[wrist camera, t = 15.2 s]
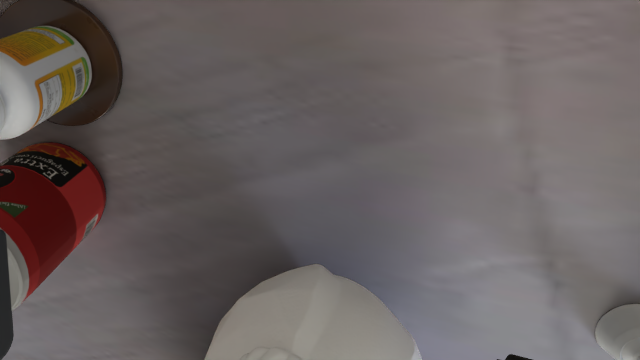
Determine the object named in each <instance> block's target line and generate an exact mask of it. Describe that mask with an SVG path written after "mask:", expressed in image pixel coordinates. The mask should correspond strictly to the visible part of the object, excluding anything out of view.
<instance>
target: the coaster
mask: <svg viewBox="0 0 640 360" xmlns="http://www.w3.org/2000/svg"><path fill="white" fill-rule="evenodd" d="M37 26H52V27H56V28H59V29H61V30H63V31H65V32H67V33H69V34H70V35H71V36H73V37H74V38H75V39H76V40H77V41H78V42H79V43H80V44H81V45H82V47H83V48H84V50H85V51H86V53H87V55H88V57H89V60H90V63H91V69H92V79H91V83H90V86H89V88H88V90H87V92H86V93H85V94H84V95H83V96H82V97H81V98H80V99H79V100H77V101H76V102H74V103H72V104H71V105H69V106H67V107H66V108H64V109H63V110H61V111H59V112H58V113H56V114H54V115H53V116H51V117H50V118H48V119H46V120H47V121H49V122H53V123H56V124H60V125H67V126H77V125H84V124H88V123H90V122H93V121H95V120H97V119H98V118H100V117H102V116H103V115H104V114H105V113H107V112H108V111H109V110H110V109H111V107H112V106H113V105H114V103H115V102H116V100H117V98H118V95H119V93H120V89H121V85H122V65H121V59H120V56H119V52H118V50H117V47H116V45H115V42H114V41H113V39H112V37H111V35H110V34H109V32H108V31H107V29H106V28H105V26H104V25H103V24H102V23H101V22H100V21H99V19H97V18H96V17H95V16H94V15H93V14H92V13H91V12H90V11H88V10H87V9H86V8H84V7H83V6H81V5H79V4H78V3H76V2H74V1H72V0H19V1H17V2H15V3H14V4H12V5H11V6H10V7H9V8H8V9H7V10H6V11H5V12H4V13H3V15H2V16H1V18H0V39H2V38H5V37H8V36H11V35H13V34H16V33H19V32H22V31H24V30H27V29H30V28H34V27H37Z"/></svg>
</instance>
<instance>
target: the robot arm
mask: <svg viewBox="0 0 640 360" xmlns="http://www.w3.org/2000/svg"><path fill="white" fill-rule="evenodd" d="M12 341H13V322H12V308H11V294H10V280H9V267H8V253H7V239H6V233H5V232H4V231H3V230H1V229H0V360H1V359H2V358H3V357H4V356H5V355H6V353H7V352H8V350H9V349H10V347H11V344H12ZM497 360H499V359H497ZM505 360H532V359H528V358H524V357H520V356H516V355H513V354H510V355H508V356H507V358H506V359H505Z"/></svg>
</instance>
